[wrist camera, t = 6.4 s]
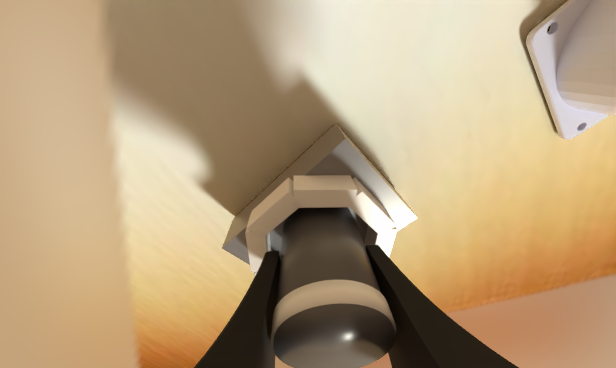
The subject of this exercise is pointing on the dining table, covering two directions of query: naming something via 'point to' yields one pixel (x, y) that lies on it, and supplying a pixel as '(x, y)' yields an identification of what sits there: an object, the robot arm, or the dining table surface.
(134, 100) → the dining table surface
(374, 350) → the lens
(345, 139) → the octagonal ring base
